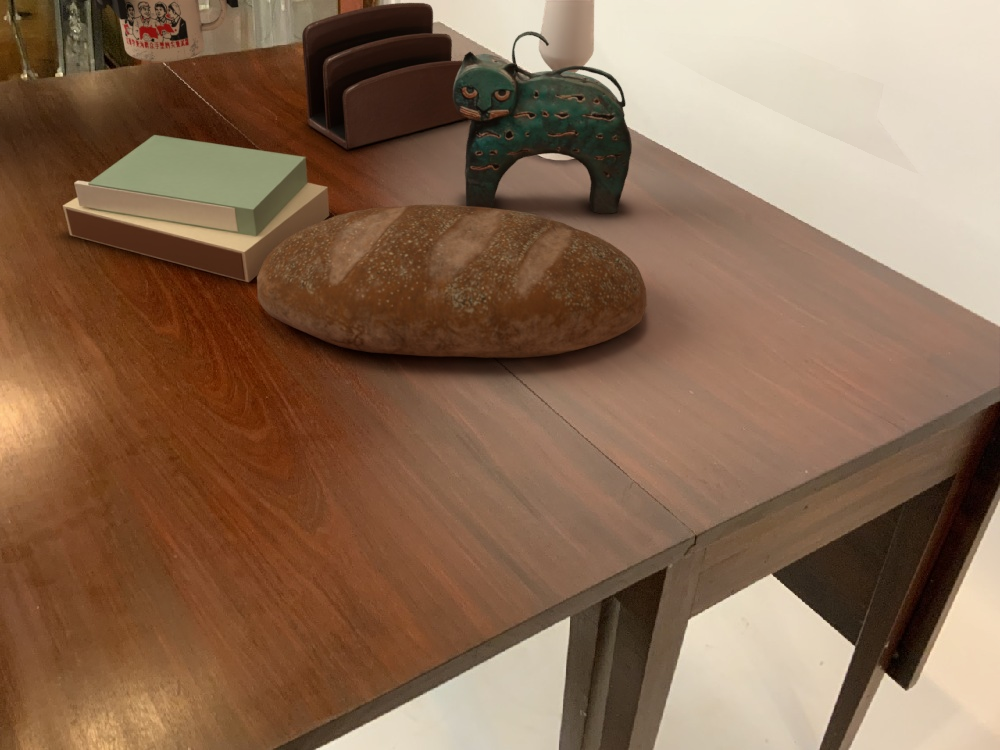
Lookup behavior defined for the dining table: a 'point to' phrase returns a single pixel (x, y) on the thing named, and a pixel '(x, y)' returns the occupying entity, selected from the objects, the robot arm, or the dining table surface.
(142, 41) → the teacup with lid
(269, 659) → the dining table surface
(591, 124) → the ceramic cat
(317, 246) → the bread
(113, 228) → the book stack
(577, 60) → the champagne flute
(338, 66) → the letter holder
